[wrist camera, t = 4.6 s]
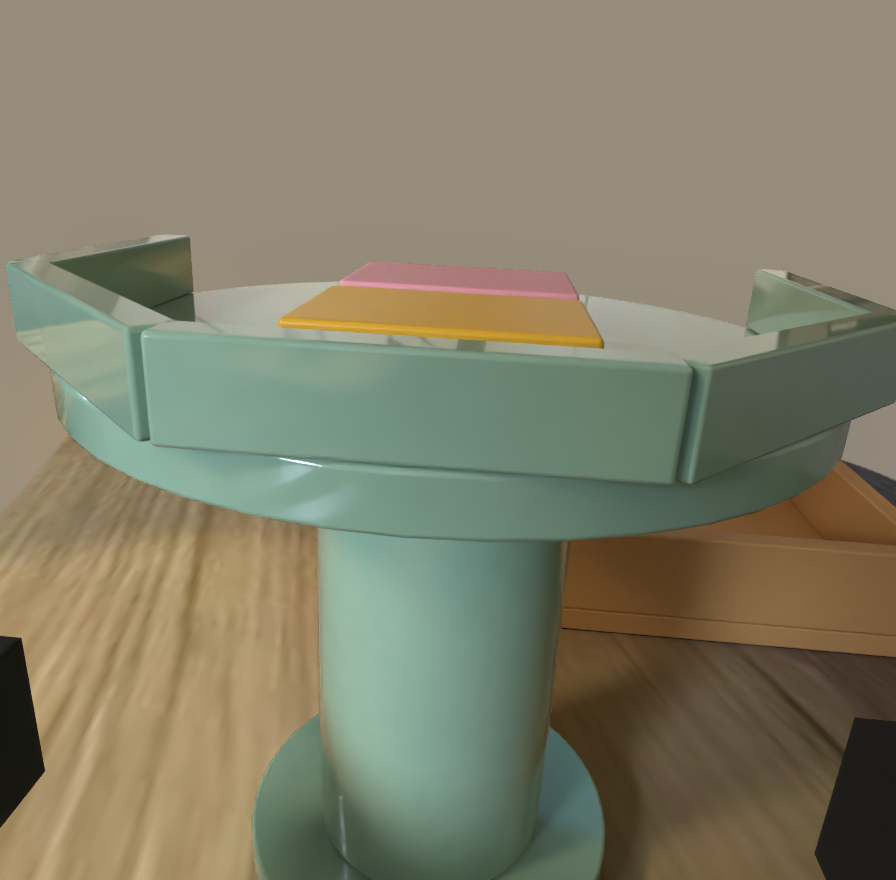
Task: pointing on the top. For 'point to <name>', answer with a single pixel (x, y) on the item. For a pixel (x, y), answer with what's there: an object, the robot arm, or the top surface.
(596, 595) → the box
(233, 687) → the top surface
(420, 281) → the sachet
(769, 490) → the green pedestal stand
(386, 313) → the sachet
